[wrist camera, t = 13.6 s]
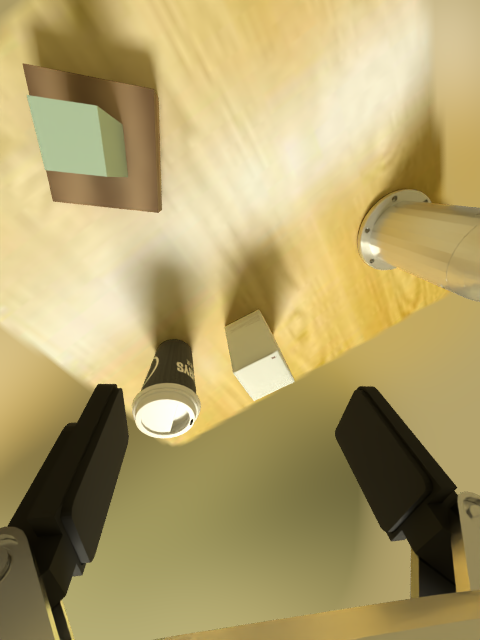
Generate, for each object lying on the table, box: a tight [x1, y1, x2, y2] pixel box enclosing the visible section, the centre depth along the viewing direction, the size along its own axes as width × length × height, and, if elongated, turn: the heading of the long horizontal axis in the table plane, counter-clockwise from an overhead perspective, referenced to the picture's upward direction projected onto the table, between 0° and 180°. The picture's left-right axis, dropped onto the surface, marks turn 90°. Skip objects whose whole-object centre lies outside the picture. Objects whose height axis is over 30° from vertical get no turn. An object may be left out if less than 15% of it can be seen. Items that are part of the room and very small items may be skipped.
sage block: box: [27, 95, 128, 177], centre depth 24 cm, size 5×5×8 cm
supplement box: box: [225, 309, 294, 401], centre depth 41 cm, size 7×7×13 cm
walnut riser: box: [23, 64, 162, 213], centre depth 29 cm, size 12×12×4 cm
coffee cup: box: [132, 340, 201, 438], centre depth 40 cm, size 10×10×15 cm
